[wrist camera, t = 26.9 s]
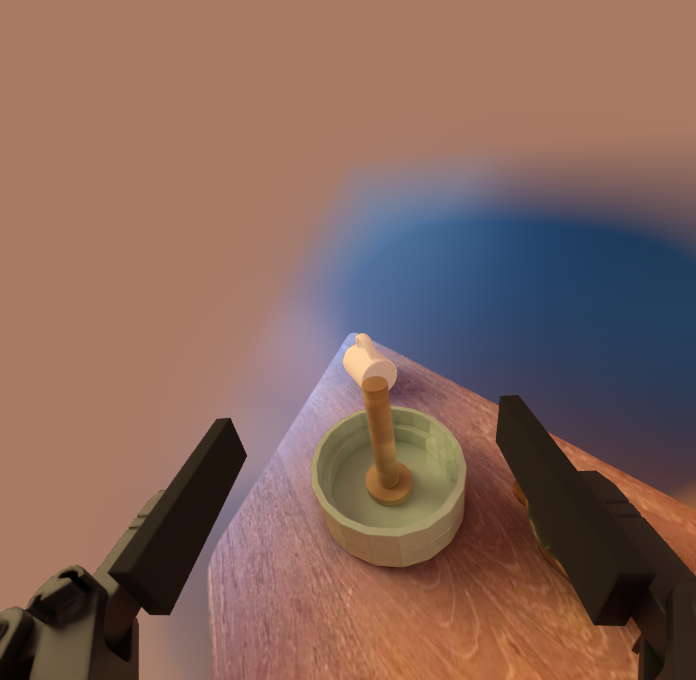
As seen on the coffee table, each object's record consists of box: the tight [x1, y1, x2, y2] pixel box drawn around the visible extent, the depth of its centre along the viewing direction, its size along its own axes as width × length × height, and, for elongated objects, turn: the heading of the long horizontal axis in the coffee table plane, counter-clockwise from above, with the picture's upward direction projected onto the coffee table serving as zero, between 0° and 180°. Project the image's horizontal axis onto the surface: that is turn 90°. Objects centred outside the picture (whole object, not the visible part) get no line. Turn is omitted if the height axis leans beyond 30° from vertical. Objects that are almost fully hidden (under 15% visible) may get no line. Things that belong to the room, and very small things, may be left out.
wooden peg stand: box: [361, 376, 413, 507], centre depth 35 cm, size 6×6×17 cm
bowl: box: [311, 406, 467, 567], centre depth 37 cm, size 20×20×6 cm
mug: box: [343, 333, 397, 390], centre depth 60 cm, size 8×10×12 cm
